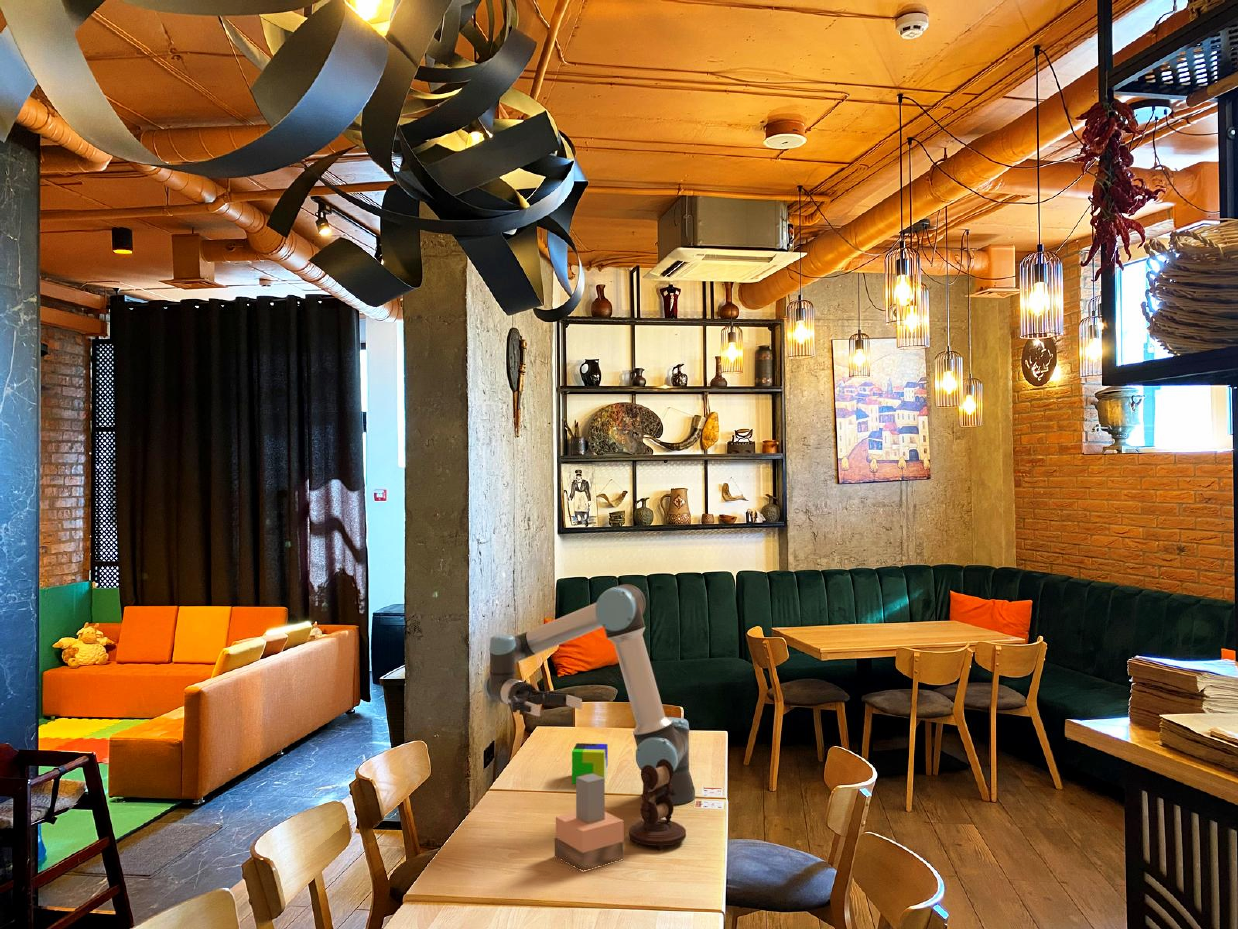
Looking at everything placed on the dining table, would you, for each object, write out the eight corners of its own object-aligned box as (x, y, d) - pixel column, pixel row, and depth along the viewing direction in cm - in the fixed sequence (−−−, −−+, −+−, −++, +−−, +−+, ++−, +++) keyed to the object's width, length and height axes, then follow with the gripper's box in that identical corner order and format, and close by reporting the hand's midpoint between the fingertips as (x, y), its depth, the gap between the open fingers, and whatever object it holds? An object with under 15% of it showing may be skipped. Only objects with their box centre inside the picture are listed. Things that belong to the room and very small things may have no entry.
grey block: (592, 814, 220) (592, 773, 221) (604, 819, 216) (604, 778, 217) (576, 818, 217) (576, 777, 218) (588, 824, 213) (588, 782, 214)
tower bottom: (593, 846, 225) (593, 827, 225) (622, 861, 215) (622, 840, 216) (554, 858, 217) (554, 838, 218) (583, 874, 208) (583, 852, 208)
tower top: (595, 827, 225) (595, 807, 225) (623, 841, 215) (623, 820, 216) (555, 837, 218) (555, 817, 218) (582, 853, 208) (582, 831, 209)
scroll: (651, 826, 238) (651, 751, 239) (697, 839, 229) (696, 761, 230) (617, 842, 227) (617, 763, 228) (663, 856, 218) (663, 774, 218)
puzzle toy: (607, 775, 283) (607, 744, 284) (603, 785, 273) (603, 752, 274) (576, 774, 284) (576, 743, 285) (572, 784, 274) (572, 751, 275)
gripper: (555, 701, 262) (597, 715, 246) (480, 713, 247) (520, 728, 230) (555, 676, 263) (597, 687, 246) (481, 686, 248) (520, 699, 231)
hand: (560, 707), depth 238 cm, fingers open, 13 cm apart
